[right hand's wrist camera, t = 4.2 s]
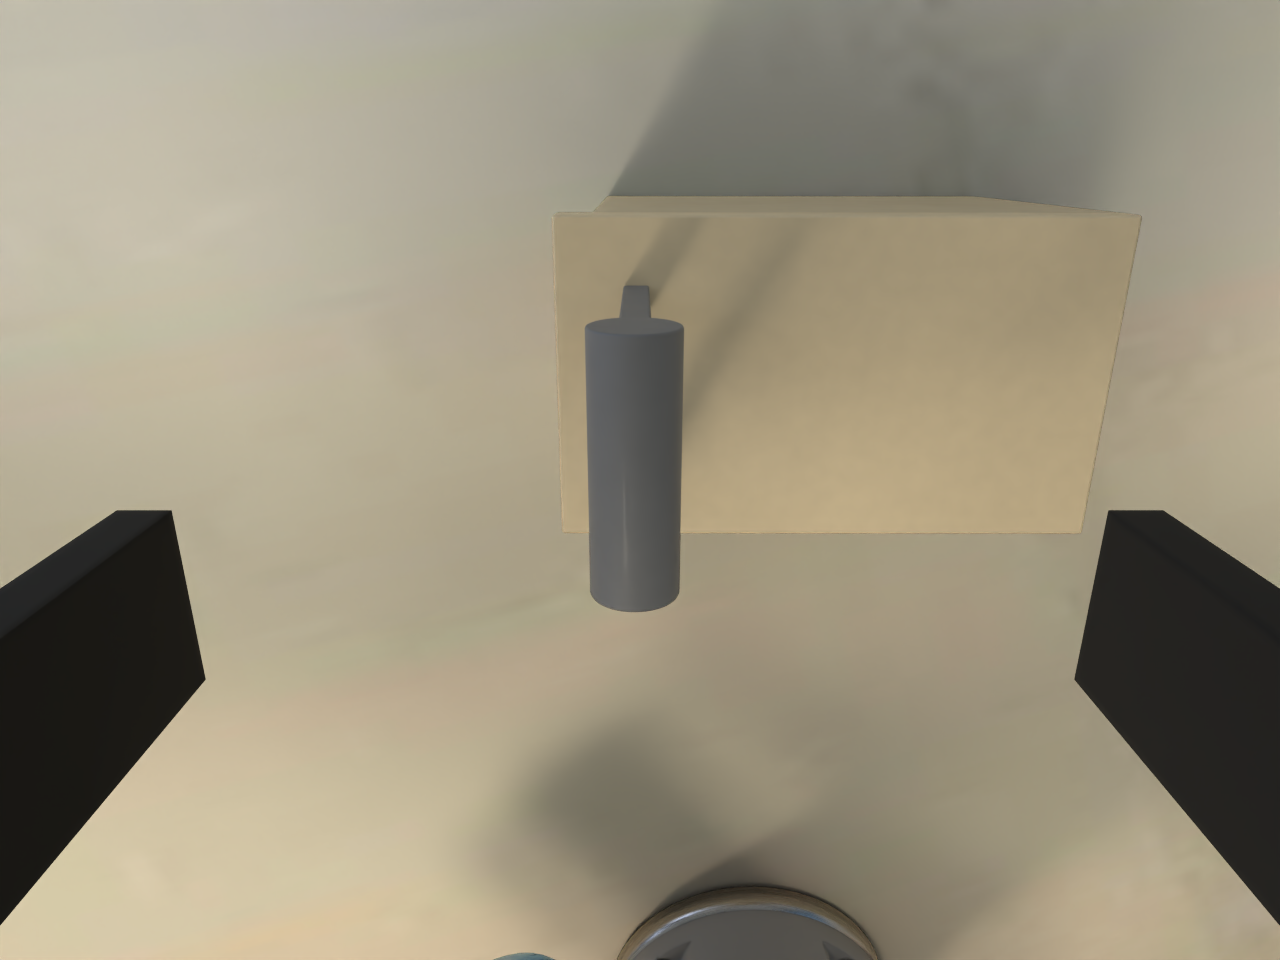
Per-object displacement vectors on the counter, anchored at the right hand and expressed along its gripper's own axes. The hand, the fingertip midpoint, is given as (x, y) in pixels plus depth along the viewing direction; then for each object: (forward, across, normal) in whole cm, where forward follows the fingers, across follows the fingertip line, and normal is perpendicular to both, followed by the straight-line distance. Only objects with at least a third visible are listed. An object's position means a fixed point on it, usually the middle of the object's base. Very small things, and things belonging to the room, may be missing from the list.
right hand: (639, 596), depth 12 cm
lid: (+14, -5, 0) cm, 15 cm away
